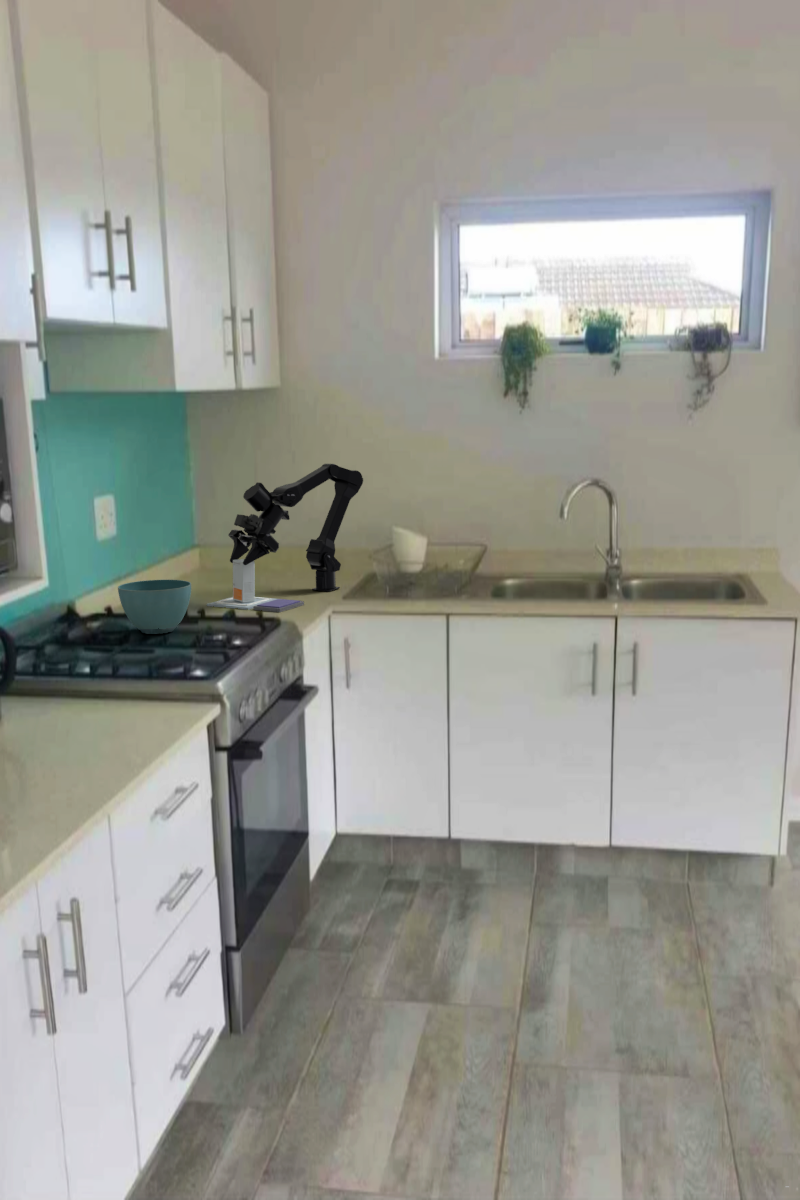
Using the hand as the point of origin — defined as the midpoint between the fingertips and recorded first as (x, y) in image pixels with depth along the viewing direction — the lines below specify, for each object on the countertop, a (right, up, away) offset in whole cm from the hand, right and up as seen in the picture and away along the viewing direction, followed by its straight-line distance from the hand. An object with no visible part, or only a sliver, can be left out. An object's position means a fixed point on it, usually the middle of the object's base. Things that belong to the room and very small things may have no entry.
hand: (237, 563), depth 300 cm
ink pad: (+13, -13, -4) cm, 18 cm away
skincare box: (+1, -11, +3) cm, 12 cm away
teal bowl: (-15, -19, -34) cm, 42 cm away
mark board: (+1, -12, +3) cm, 12 cm away
